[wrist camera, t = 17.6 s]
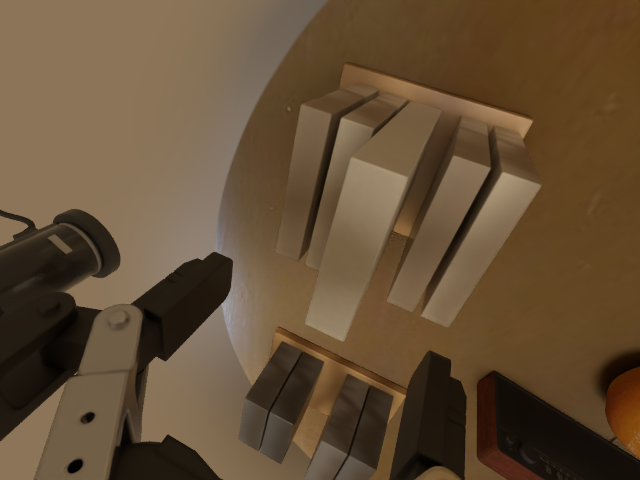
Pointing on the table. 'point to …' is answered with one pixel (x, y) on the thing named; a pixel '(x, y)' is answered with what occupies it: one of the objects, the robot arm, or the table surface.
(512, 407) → the radio
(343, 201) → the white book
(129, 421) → the robot arm
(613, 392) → the fruit
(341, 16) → the table surface
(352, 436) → the paired blocks on board
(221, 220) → the table surface
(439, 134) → the upright slab rack
